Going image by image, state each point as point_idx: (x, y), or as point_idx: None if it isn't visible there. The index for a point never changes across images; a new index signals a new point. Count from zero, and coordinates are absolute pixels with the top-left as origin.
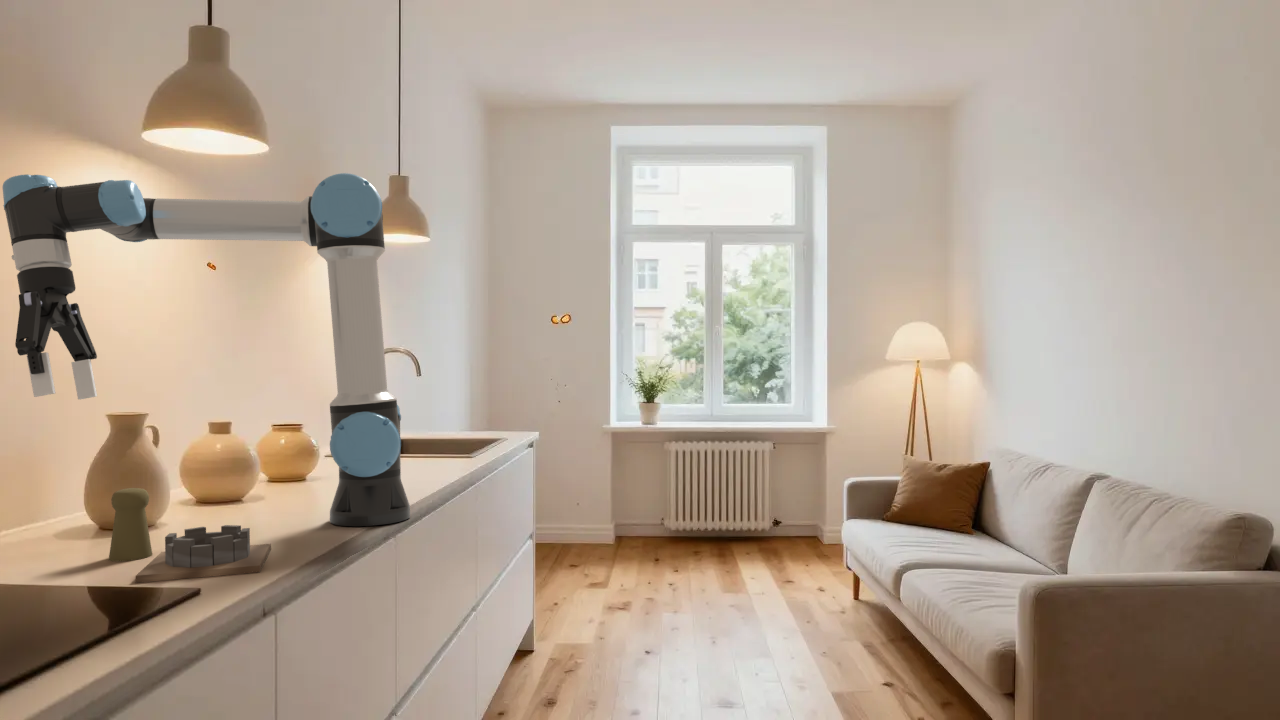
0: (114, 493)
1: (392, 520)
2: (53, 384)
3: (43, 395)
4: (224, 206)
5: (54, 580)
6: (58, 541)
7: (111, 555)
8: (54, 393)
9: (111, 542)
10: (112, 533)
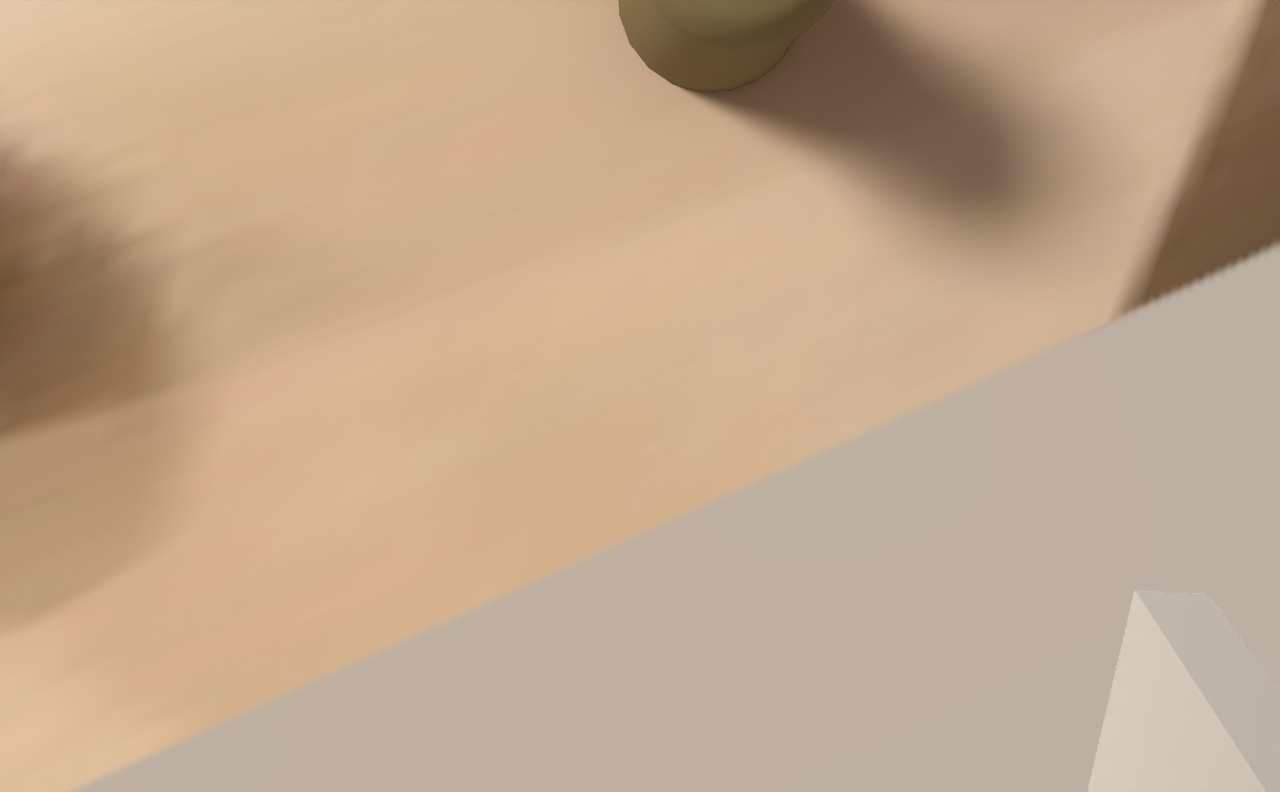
0: (798, 14)
1: None
2: (1202, 673)
3: (1109, 721)
4: None
5: (1118, 158)
6: (213, 523)
7: (779, 58)
8: (1137, 601)
9: (766, 60)
10: (758, 56)
